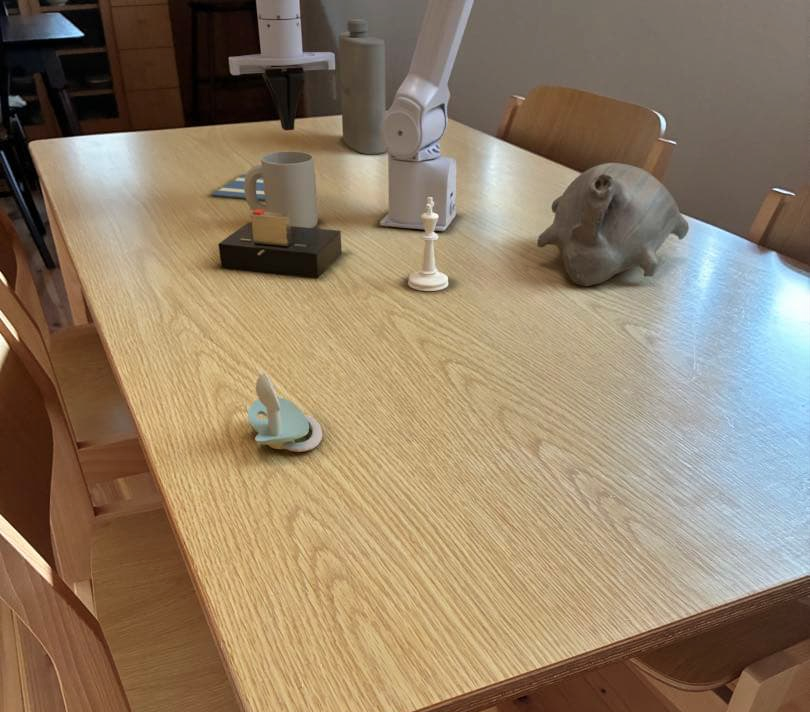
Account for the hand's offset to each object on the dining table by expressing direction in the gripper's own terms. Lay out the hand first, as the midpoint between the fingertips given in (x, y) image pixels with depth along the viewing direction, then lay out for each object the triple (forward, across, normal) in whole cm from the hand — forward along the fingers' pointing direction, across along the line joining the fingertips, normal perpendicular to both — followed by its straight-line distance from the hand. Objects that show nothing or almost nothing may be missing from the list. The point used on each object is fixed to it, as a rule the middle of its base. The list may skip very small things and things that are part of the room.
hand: (287, 128), depth 117 cm
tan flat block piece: (+7, +9, +26) cm, 28 cm away
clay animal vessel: (+11, -30, +38) cm, 50 cm away
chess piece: (+11, -7, +37) cm, 40 cm away
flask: (+11, -21, -32) cm, 39 cm away
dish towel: (+10, +4, -10) cm, 15 cm away
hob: (+10, +8, +25) cm, 28 cm away
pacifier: (+11, +17, +66) cm, 69 cm away
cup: (+11, +4, +9) cm, 15 cm away
